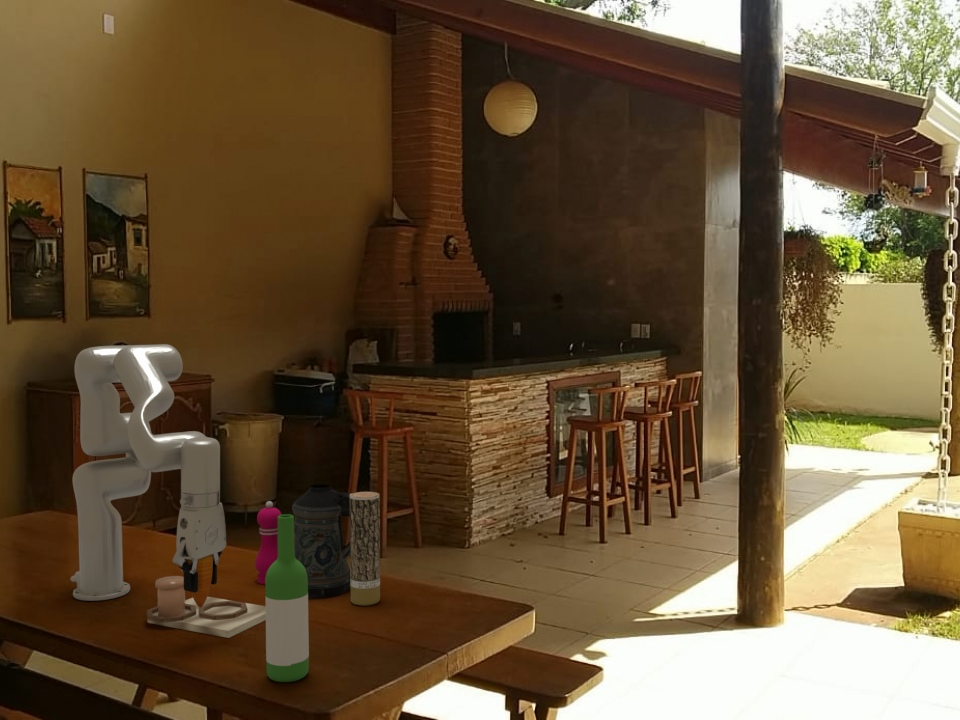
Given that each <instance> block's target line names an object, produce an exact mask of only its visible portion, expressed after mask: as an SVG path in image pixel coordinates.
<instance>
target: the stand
mask: <svg viewBox="0 0 960 720" xmlns="http://www.w3.org/2000/svg"><path fill="white" fill-rule="evenodd" d="M146 618H147V623H148V624H153V625H158V626H164V627H168V628H174V629H179V630H184V631H190V632H195V633H200V634H206V635H211V636H216V637H222V638H227V639H229V638H232V637H233V636H236V635H238V634H240V633H243V632H244V631H247V630H249V629H250V628H252V627H255V626H256V625H259V624H261V623H262V622H264V621H265V622H266V605H260V604H254V603H248V602H242V601H237V600H236V601H235V600H229V599H225V598H217V597H214V596H213V597H211V596H207V599H206V601H205V603H204V605H203V606H202V607H201V608H199V607H198V606H197V604H196V602H195V601H194V599H193V597H190V598H188V599H185V614H183V615H181V616H172V617H160V616H158V605H157V606H154V607H152V608H150V609H147V610H146Z"/></svg>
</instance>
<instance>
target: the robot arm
mask: <svg viewBox="0 0 960 720" xmlns="http://www.w3.org/2000/svg"><path fill="white" fill-rule="evenodd" d="M181 356H182V355H181V354H180V352H179V351H178V350H177V349H176V347H174V346H172V344H167V343H163V344H162V343H160V344H133V345H130V344H128V345H103V346H102V345H100V346H93V347H87V348H84V349H82V350H81V351H80V352H79V353H78V354H77V355H76V359H75V362H74V377H75V381H76V385H77V388H78V391H79V396H80V397H79V398H80V425H79V427H80V428H79V430H80V431H79V433H80V434H79V435H80V445H81V449H82V451H83V453H85V454H86V455H88V456H92V457H102V456H113V455H121V454H125V457H119V458H117V457H116V458H107V459H99V460H93V461H89V462H85V463H83V464H81V465H79V466H78V467H77V468H76V469H75V470H74V472H73V474H72V487H73V492H74V496H75V501H76V509H77V525H78V527H77V529H78V554H79V555H78V559H79V570H78V571H75V573H74V575H71V577H70V581H71V582H72V583H73V582H74V583H76V587H75V589H73V591H72V596H73V598H75V599H76V600H79V601H89V602H95V601H107V600H111V599H117V598H120V597H123V596H125V595H127V594H128V593H129V592H130V591H131V585H130V583H128V582H126V581H124V570H123V568H124V567H123V560H124V559H123V531H122V530H123V527H122V526H123V525H122V523H123V522H122V516H121V514H120V512H119V511H118V509H116V508H115V507H114V506H113V504H112V502H111V501H113V500H114V501H115V500H117V499H123V498H125V499H126V498H130V497H136V496H140V495H142V494H143V495H144V494H145V492H147V491H148V490H149V487H150V484H151V479H152V478H151V477H152V473H159V472H160V473H161V472H168V471H174V470H180V500H179V504H180V505H181V506H180V508H179V513H178V518H177V527H176V541H175V542H176V543H175V545H176V546H175V547H176V552H175V554H174V556H173V558H172V563H173V564H175V565H177V566H178V567H179V569H180V571H181V573H183V577H184V590H185V592H189V593H191V592H194V593H195V592H197V591H198V573H197V572H195V571H196V566H197V561H198V559H201V558H204V557H207V556H209V555H212V556H213V570H212V580H211V585H216V584H217V582H218V565H219V563H220V557H221V555H222V554H223V551H224V549H225V548H226V546H227V545H228V544H227V530H226V528H227V527H226V517H225V511H224V505H223V503H222V502H221V500H220V499H221V445H220V442H219V441H218V440H217V439H216V438H214V437H208V436H206V435H205V434H203V433H202V432H200V431H195V430H193V431H182V432H180V431H179V432H178V431H177V432H169V433H162V434H161V433H160V434H153V433H152V430H151V429H152V428H151V425H150V422H151V421H153V420H154V419H156V418H158V417H159V416H161V415H163V414H164V413H165V412H167V411H168V410H169V409H170V408H171V406H172V405H173V404H174V401H175V393H174V391H173V389H172V387H171V385H170V383H169V382H174V381H177V379H179V378H180V377H181V376H182V373H183V366H184V362H183V359H182V357H181ZM113 383H115V384H116V383H121V384H122V385H121V386H122V387H123V388H124V390H125V392H126V394H127V395H128V398H129V400H130V401H131V404H132V405H133V407H134V408H133V410H132V412H124V413H121V412H120V411H121V410H120V408H121V399H120V393H119V392H118V390H117V389H116V387H115V385H114V384H113ZM189 560H192V561H191V565H190V564H189V563H188V562H189Z"/></svg>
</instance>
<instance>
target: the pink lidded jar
mask: <svg viewBox="0 0 960 720" xmlns="http://www.w3.org/2000/svg"><path fill="white" fill-rule="evenodd" d="M154 582H155V584H154V585H155V588H156V589H157V606H158V616H160V617H172V616H181V615H183V614H185V600H186V591H185V590H184V576H181V575H170V576H169V575H168V576H164V577H160V578H157V579H156V580H155V581H154Z"/></svg>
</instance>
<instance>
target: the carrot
mask: <svg viewBox="0 0 960 720" xmlns="http://www.w3.org/2000/svg"><path fill="white" fill-rule="evenodd" d="M191 561H192V560H189V562H188V563H189V564H190V565H191ZM212 570H213V556H212V555H209V556H207V557H204V558H201V559H198V561H197V566H196V571H195V572H197V573H198V591H197V592H195V593H194V592H190V593H191V596H192V598H193V599H194V601H195V602H196V604H197V606H198V607H199V608H201V607H202V606H203V605H204V603H205V601H206V599H207V597H209V593H210V589H211V585H212V584H211V580H212Z"/></svg>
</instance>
